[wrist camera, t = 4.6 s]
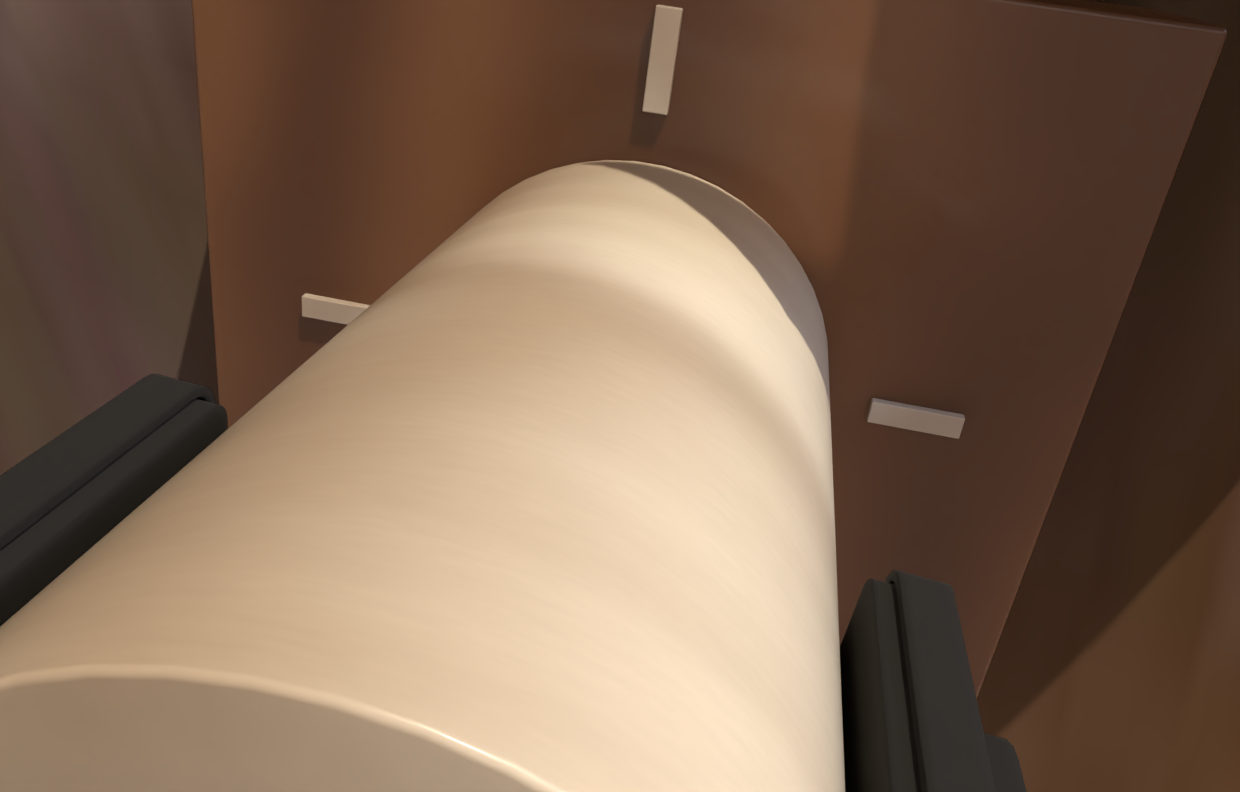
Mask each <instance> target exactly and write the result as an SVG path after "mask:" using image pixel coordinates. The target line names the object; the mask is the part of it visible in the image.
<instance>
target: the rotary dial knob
mask: <svg viewBox="0 0 1240 792" xmlns="http://www.w3.org/2000/svg"><path fill="white" fill-rule="evenodd" d="M0 792H845V767H844V742H843V716H842V691H841V666H840V640H839V615H838V590H837V564H836V539H835V514H834V488H833V463H832V438H831V412H830V387H829V363H828V342H827V336H826V330H825V325H824V320H823V315H822V312H821V309H820V306H819V303H818V300H817V298H816V295H815V292H814V289H813V287H812V285H811V283H810V281H809V279H808V277H807V275H806V273H805V271H804V270H803V268H802V266H801V264H800V263H799V261H798V260H797V258H796V257H795V255H794V254H793V253H792V251H791V250H790V248H789V247H788V245H787V244H786V243H785V241H784V240H783V239H782V238H781V237H780V236H779V235H778V234H777V233H776V232H775V230H774V229H773V228H772V227H771V226H770V225H769V224H768V223H767V222H766V221H765V220H764V219H763V218H762V217H760V216H759V215H758V214H757V213H756V212H754V211H753V210H752V209H751V208H750V207H748V206H747V205H746V204H745V203H743V202H742V201H740V200H739V199H737V198H736V197H734V196H732V195H731V194H729V193H728V192H726V191H724V190H723V189H721V188H720V187H718V186H716V185H714V184H711V183H709V182H707V181H705V180H703V179H700V178H698V177H696V176H694V175H692V174H689V173H685V172H682V171H679V170H676V169H672V168H669V167H666V166H662V165H656V164H650V163H644V162H638V161H621V160H601V161H591V162H581V163H575V164H571V165H567V166H563V167H558V168H554V169H550V170H548V171H545V172H543V173H540V174H538V175H535V176H533V177H530V178H528V179H525V180H524V181H522V182H520V183H518V184H517V185H515V186H513V187H511V188H510V189H508V190H506V191H504V192H503V193H501V194H500V195H499V196H497V197H496V198H495V199H494V200H492V201H491V202H490V203H488V204H487V205H486V206H485V207H483V208H482V209H481V210H480V211H479V212H477V213H476V214H475V215H474V216H473V217H472V218H471V219H469V220H468V221H467V222H466V223H465V224H464V225H462V226H461V227H460V228H459V229H458V230H457V231H456V232H454V233H453V234H452V235H451V236H450V237H449V238H448V239H446V240H445V241H444V242H443V243H442V244H441V245H439V246H438V247H437V248H436V249H435V250H434V251H433V252H431V253H430V254H429V255H428V256H427V257H426V258H424V259H423V260H422V261H421V262H420V263H419V264H418V265H416V266H415V267H414V268H413V269H412V270H411V271H409V272H408V273H407V274H406V275H405V276H404V277H403V278H401V279H400V280H399V281H398V282H397V283H396V284H395V285H393V286H392V287H391V288H390V289H389V290H388V291H386V292H385V293H384V294H383V295H382V296H381V297H380V298H378V299H377V300H376V301H375V302H374V303H373V304H371V305H370V306H369V307H368V308H367V309H366V310H365V311H363V312H362V313H361V314H360V315H359V316H358V317H356V318H355V319H354V320H353V321H352V322H351V323H350V324H348V325H347V326H346V327H345V328H344V329H343V330H341V331H340V332H339V333H338V334H337V335H336V336H335V337H333V338H332V339H331V340H330V341H329V342H328V343H327V344H325V345H324V346H323V347H322V348H321V349H320V350H318V351H317V352H316V353H315V354H314V355H313V356H312V357H310V358H309V359H308V360H307V361H306V362H305V363H303V364H302V365H301V366H300V367H299V368H298V369H297V370H295V371H294V372H293V373H292V374H291V375H290V376H288V377H287V378H286V379H285V380H284V381H283V382H282V383H280V384H279V385H278V386H277V387H276V388H275V389H274V390H272V391H271V392H270V393H269V394H268V395H267V396H265V397H264V398H263V399H262V400H261V401H260V402H259V403H257V404H256V405H255V406H254V407H253V408H252V409H250V410H249V411H248V412H247V413H246V414H245V415H244V416H242V417H241V418H240V419H239V420H238V421H237V422H235V423H234V424H233V425H232V426H231V427H230V428H229V429H227V430H226V431H225V432H224V433H223V434H222V435H221V436H219V437H218V438H217V439H216V440H215V441H214V442H212V443H211V444H210V445H209V446H208V447H207V448H206V449H204V450H203V451H202V452H201V453H200V454H199V455H197V456H196V457H195V458H194V459H193V460H192V461H191V462H189V463H188V464H187V465H186V466H185V467H184V468H182V469H181V470H180V471H179V472H178V473H177V474H176V475H174V476H173V477H172V478H171V479H170V480H169V481H167V482H166V483H165V484H164V485H163V486H162V487H161V488H159V489H158V490H157V491H156V492H155V493H154V494H153V495H151V496H150V497H149V498H148V499H147V500H146V501H144V502H143V503H142V504H141V505H140V506H139V507H138V508H136V509H135V510H134V511H133V512H132V513H131V514H129V515H128V516H127V517H126V518H125V519H124V520H123V521H121V522H120V523H119V524H118V525H117V526H116V527H114V528H113V529H112V530H111V531H110V532H109V533H108V534H106V535H105V536H104V537H103V538H102V539H101V540H100V541H98V542H97V543H96V544H95V545H94V546H93V547H91V548H90V549H89V550H88V551H87V552H86V553H85V554H83V555H82V556H81V557H80V558H79V559H78V560H76V561H75V562H74V563H73V564H72V565H71V566H70V567H68V568H67V569H66V570H65V571H64V572H63V573H61V574H60V575H59V576H58V577H57V578H56V579H55V580H53V581H52V582H51V583H50V584H49V585H48V586H47V587H45V588H44V589H43V590H42V591H41V592H40V593H38V594H37V595H36V596H35V597H34V598H33V599H32V600H30V601H29V602H28V603H27V604H26V605H25V606H23V607H22V608H21V609H20V610H19V611H18V612H17V613H15V614H14V615H13V616H12V617H11V618H10V619H8V620H7V621H6V622H5V623H4V624H3V625H2V626H0Z"/></svg>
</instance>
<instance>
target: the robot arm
mask: <svg viewBox="0 0 1240 792" xmlns="http://www.w3.org/2000/svg"><path fill="white" fill-rule="evenodd" d="M227 429H228V418H227V412H226V410H225V408H224V407H223V406H222V405H218V404H215V398H214V396H213V393H212V391H211V390H210V389H208V388H207V387H204V386H201V385H197V384H193V383H189V382H186V381H182V380H178V379H174V378H170V377H167V376H163V375H159V374H151V375H148V376H146V377H144V378H143V379H141V380H140V381H138V382H137V383H135V384H134V385H132V386H131V387H129V388H128V389H126V390H125V391H123V392H122V393H121V394H119V395H118V396H116V397H115V398H113V399H112V400H110V401H109V402H107V403H106V404H104V405H103V406H101V407H100V408H99V409H97V410H96V411H94V412H93V413H91V414H90V415H88V416H87V417H85V418H84V419H82V420H81V421H79V422H78V423H77V424H75V425H74V426H72V427H71V428H69V429H68V430H66V431H65V432H63V433H62V434H60V435H59V436H58V437H56V438H55V439H53V440H52V441H50V442H49V443H47V444H46V445H44V446H43V447H41V448H40V449H38V450H37V451H36V452H34V453H33V454H31V455H30V456H28V457H27V458H25V459H24V460H22V461H21V462H19V463H18V464H16V465H15V466H14V467H12V468H11V469H9V470H8V471H6V472H5V473H3V474H2V475H0V626H2V625H3V624H4V623H5V622H6V621H7V620H8V619H10V618H11V617H12V616H13V615H14V614H15V613H17V612H18V611H19V610H20V609H21V608H22V607H23V606H25V605H26V604H27V603H28V602H29V601H30V600H32V599H33V598H34V597H35V596H36V595H37V594H38V593H40V592H41V591H42V590H43V589H44V588H45V587H47V586H48V585H49V584H50V583H51V582H52V581H53V580H55V579H56V578H57V577H58V576H59V575H60V574H61V573H63V572H64V571H65V570H66V569H67V568H68V567H70V566H71V565H72V564H73V563H74V562H75V561H76V560H78V559H79V558H80V557H81V556H82V555H83V554H85V553H86V552H87V551H88V550H89V549H90V548H91V547H93V546H94V545H95V544H96V543H97V542H98V541H100V540H101V539H102V538H103V537H104V536H105V535H106V534H108V533H109V532H110V531H111V530H112V529H113V528H114V527H116V526H117V525H118V524H119V523H120V522H121V521H123V520H124V519H125V518H126V517H127V516H128V515H129V514H131V513H132V512H133V511H134V510H135V509H136V508H138V507H139V506H140V505H141V504H142V503H143V502H144V501H146V500H147V499H148V498H149V497H150V496H151V495H153V494H154V493H155V492H156V491H157V490H158V489H159V488H161V487H162V486H163V485H164V484H165V483H166V482H167V481H169V480H170V479H171V478H172V477H173V476H174V475H176V474H177V473H178V472H179V471H180V470H181V469H182V468H184V467H185V466H186V465H187V464H188V463H189V462H191V461H192V460H193V459H194V458H195V457H196V456H197V455H199V454H200V453H201V452H202V451H203V450H204V449H206V448H207V447H208V446H209V445H210V444H211V443H212V442H214V441H215V440H216V439H217V438H218V437H219V436H221V435H222V434H223V433H224V432H225V431H226V430H227ZM840 666H841V691H842V716H843V742H844V767H845V792H1026V788H1025V784H1024V780H1023V776H1022V772H1021V768H1020V764H1019V760H1018V757H1017V755H1016V752H1015V749H1014V747H1013V746H1012V745H1011V743H1010V742H1009V741H1008V740H1007V739H1004V738H1000V737H997V736H993V735H989V734H986V733H984V732H983V727H982V722H981V717H980V713H979V708H978V703H977V699H976V694H975V689H974V684H973V680H972V675H971V670H970V665H969V661H968V656H967V651H966V647H965V642H964V637H963V632H962V628H961V623H960V618H959V614H958V609H957V604H956V599H955V595H954V591H953V589H952V586H951V585H949V584H947V583H943V582H940V581H936V580H932V579H928V578H925V577H921V576H917V575H913V574H910V573H906V572H902V571H898V570H893V571H891V572H890V573H889V575H888V576H887V578H886V580H885V582H883V581H879V580H875V579H872V578H870V579H868V580H867V581H866V583H865V585H864V587H863V589H862V591H861V594H860V597H859V599H858V602H857V604H856V607H855V609H854V612H853V615H852V617H851V620H850V622H849V625H848V627H847V630H846V633H845V635H844V638H843V640H842V643H841V645H840Z"/></svg>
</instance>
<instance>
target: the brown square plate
mask: <svg viewBox="0 0 1240 792" xmlns="http://www.w3.org/2000/svg"><path fill="white" fill-rule="evenodd" d="M192 13H193V27H194V42H195V57H196V72H197V87H198V101H199V116H200V131H201V146H202V161H203V175H204V190H205V205H206V220H207V235H208V249H209V264H210V279H211V294H212V309H213V323H214V338H215V353H216V368H217V382H218V397H219V405H222V406H223V407H224V408H225V410H226V412H227V418H228V429H229V428H230V427H231V426H232V425H233V424H234V423H235V422H237V421H238V420H239V419H240V418H241V417H242V416H244V415H245V414H246V413H247V412H248V411H249V410H250V409H252V408H253V407H254V406H255V405H256V404H257V403H259V402H260V401H261V400H262V399H263V398H264V397H265V396H267V395H268V394H269V393H270V392H271V391H272V390H274V389H275V388H276V387H277V386H278V385H279V384H280V383H282V382H283V381H284V380H285V379H286V378H287V377H288V376H290V375H291V374H292V373H293V372H294V371H295V370H297V369H298V368H299V367H300V366H301V365H302V364H303V363H305V362H306V361H307V360H308V359H309V358H310V357H312V356H313V355H314V354H315V353H316V352H317V351H318V350H320V349H321V348H322V347H323V346H324V345H325V344H327V343H328V342H329V341H330V340H331V339H332V338H333V337H335V336H336V335H337V334H338V333H339V332H340V331H341V330H343V329H344V328H345V327H346V326H347V325H348V324H350V323H351V322H352V321H353V320H354V319H355V318H356V317H358V316H359V315H360V314H361V313H362V312H363V311H365V310H366V309H367V308H368V307H369V306H370V305H371V304H373V303H374V302H375V301H376V300H377V299H378V298H380V297H381V296H382V295H383V294H384V293H385V292H386V291H388V290H389V289H390V288H391V287H392V286H393V285H395V284H396V283H397V282H398V281H399V280H400V279H401V278H403V277H404V276H405V275H406V274H407V273H408V272H409V271H411V270H412V269H413V268H414V267H415V266H416V265H418V264H419V263H420V262H421V261H422V260H423V259H424V258H426V257H427V256H428V255H429V254H430V253H431V252H433V251H434V250H435V249H436V248H437V247H438V246H439V245H441V244H442V243H443V242H444V241H445V240H446V239H448V238H449V237H450V236H451V235H452V234H453V233H454V232H456V231H457V230H458V229H459V228H460V227H461V226H462V225H464V224H465V223H466V222H467V221H468V220H469V219H471V218H472V217H473V216H474V215H475V214H476V213H477V212H479V211H480V210H481V209H482V208H483V207H485V206H486V205H487V204H488V203H490V202H491V201H492V200H494V199H495V198H496V197H497V196H499V195H500V194H501V193H503V192H504V191H506V190H508V189H510V188H511V187H513V186H515V185H517V184H518V183H520V182H522V181H524V180H525V179H528V178H530V177H533V176H535V175H538V174H540V173H543V172H545V171H548V170H550V169H554V168H558V167H563V166H567V165H571V164H575V163H581V162H591V161H601V160H621V161H638V162H644V163H650V164H656V165H662V166H666V167H669V168H672V169H676V170H679V171H682V172H685V173H689V174H692V175H694V176H696V177H698V178H700V179H703V180H705V181H707V182H709V183H711V184H714V185H716V186H718V187H720V188H721V189H723V190H724V191H726V192H728V193H729V194H731V195H732V196H734V197H736V198H737V199H739V200H740V201H742V202H743V203H745V204H746V205H747V206H748V207H750V208H751V209H752V210H753V211H754V212H756V213H757V214H758V215H759V216H760V217H762V218H763V219H764V220H765V221H766V222H767V223H768V224H769V225H770V226H771V227H772V228H773V229H774V230H775V232H776V233H777V234H778V235H779V236H780V237H781V238H782V239H783V240H784V241H785V243H786V244H787V245H788V247H789V248H790V250H791V251H792V253H793V254H794V255H795V257H796V258H797V260H798V261H799V263H800V264H801V266H802V268H803V270H804V271H805V273H806V275H807V277H808V279H809V281H810V283H811V285H812V287H813V289H814V292H815V295H816V298H817V300H818V303H819V306H820V309H821V312H822V315H823V320H824V325H825V330H826V336H827V342H828V363H829V387H830V412H831V438H832V463H833V488H834V514H835V539H836V564H837V590H838V615H839V640H840V645H841V643H842V640H843V638H844V635H845V633H846V630H847V627H848V625H849V622H850V620H851V617H852V615H853V612H854V609H855V607H856V604H857V602H858V599H859V597H860V594H861V591H862V589H863V587H864V585H865V583H866V581H867V580H868V579H870V578H872V579H875V580H879V581H883V582H885V580H886V578H887V576H888V575H889V573H890V572H891V571H893V570H898V571H902V572H906V573H910V574H913V575H917V576H921V577H925V578H928V579H932V580H936V581H940V582H943V583H947V584H949V585H951V586H952V589H953V591H954V595H955V599H956V604H957V609H958V614H959V618H960V623H961V628H962V632H963V637H964V642H965V647H966V651H967V656H968V661H969V665H970V670H971V675H972V680H973V684H974V689H975V694H976V699H977V697H978V694H979V691H980V689H981V686H982V683H983V681H984V678H985V675H986V673H987V670H988V667H989V665H990V662H991V659H992V657H993V654H994V651H995V649H996V646H997V644H998V641H999V638H1000V636H1001V633H1002V630H1003V628H1004V625H1005V622H1006V620H1007V617H1008V614H1009V612H1010V609H1011V606H1012V604H1013V601H1014V598H1015V596H1016V593H1017V591H1018V588H1019V585H1020V583H1021V580H1022V577H1023V575H1024V572H1025V569H1026V567H1027V564H1028V561H1029V559H1030V556H1031V553H1032V551H1033V548H1034V545H1035V543H1036V540H1037V538H1038V535H1039V532H1040V530H1041V527H1042V524H1043V522H1044V519H1045V516H1046V514H1047V511H1048V508H1049V506H1050V503H1051V500H1052V498H1053V495H1054V492H1055V490H1056V487H1057V485H1058V482H1059V479H1060V477H1061V474H1062V471H1063V469H1064V466H1065V463H1066V461H1067V458H1068V455H1069V453H1070V450H1071V447H1072V445H1073V442H1074V439H1075V437H1076V434H1077V431H1078V429H1079V426H1080V424H1081V421H1082V418H1083V416H1084V413H1085V410H1086V408H1087V405H1088V402H1089V400H1090V397H1091V394H1092V392H1093V389H1094V386H1095V384H1096V381H1097V378H1098V376H1099V373H1100V371H1101V368H1102V365H1103V363H1104V360H1105V357H1106V355H1107V352H1108V349H1109V347H1110V344H1111V341H1112V339H1113V336H1114V333H1115V331H1116V328H1117V325H1118V323H1119V320H1120V318H1121V315H1122V312H1123V310H1124V307H1125V304H1126V302H1127V299H1128V296H1129V294H1130V291H1131V288H1132V286H1133V283H1134V280H1135V278H1136V275H1137V272H1138V270H1139V267H1140V265H1141V262H1142V259H1143V257H1144V254H1145V251H1146V249H1147V246H1148V243H1149V241H1150V238H1151V235H1152V233H1153V230H1154V227H1155V225H1156V222H1157V219H1158V217H1159V214H1160V212H1161V209H1162V206H1163V204H1164V201H1165V198H1166V196H1167V193H1168V190H1169V188H1170V185H1171V182H1172V180H1173V177H1174V174H1175V172H1176V169H1177V166H1178V164H1179V161H1180V159H1181V156H1182V153H1183V151H1184V148H1185V145H1186V143H1187V140H1188V137H1189V135H1190V132H1191V129H1192V127H1193V124H1194V121H1195V119H1196V116H1197V113H1198V111H1199V108H1200V105H1201V103H1202V100H1203V98H1204V95H1205V92H1206V90H1207V87H1208V84H1209V82H1210V79H1211V76H1212V74H1213V71H1214V68H1215V66H1216V63H1217V60H1218V58H1219V55H1220V52H1221V50H1222V47H1223V45H1224V42H1225V39H1226V37H1227V29H1226V28H1224V27H1223V26H1219V25H1215V24H1211V23H1207V22H1203V21H1199V20H1195V19H1191V18H1187V17H1183V16H1179V15H1175V14H1171V13H1167V12H1163V11H1159V10H1155V9H1150V8H1143V7H1135V6H1128V5H1121V4H1114V3H1107V2H1100V1H1093V0H192Z"/></svg>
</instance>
